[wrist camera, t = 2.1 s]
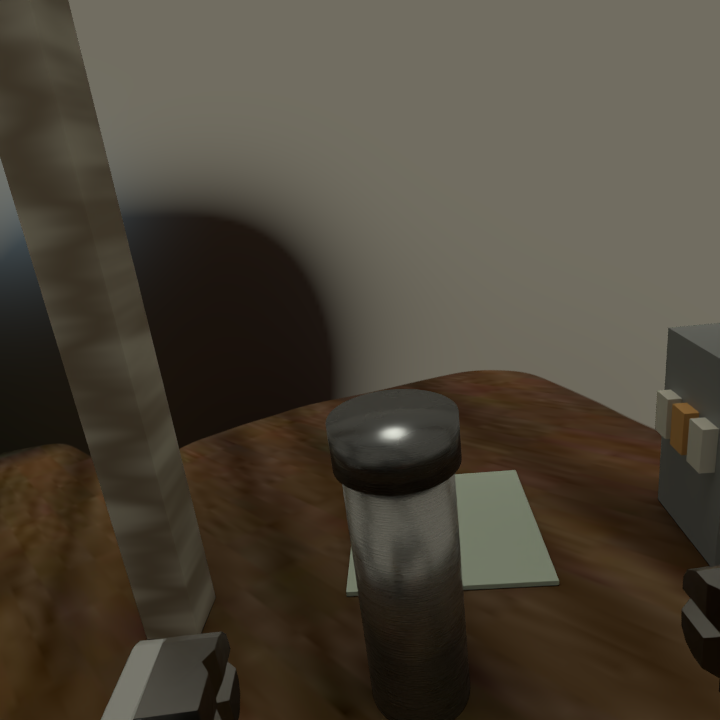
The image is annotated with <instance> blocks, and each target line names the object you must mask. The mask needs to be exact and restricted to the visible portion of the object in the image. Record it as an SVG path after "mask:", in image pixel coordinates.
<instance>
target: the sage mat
mask: <svg viewBox="0 0 720 720" xmlns="http://www.w3.org/2000/svg"><path fill="white" fill-rule="evenodd" d="M455 481H456V495H457V509H458V523H459V537H460V552H461V566H462V580H463V590H474V589H493V588H511V587H530V586H548V585H559V579H558V577H557V574H556V572H555V569H554V567H553V564H552V562H551V559H550V556H549V554H548V551H547V549H546V546H545V544H544V541H543V539H542V536H541V534H540V531H539V529H538V526H537V524H536V521H535V519H534V516H533V513H532V511H531V508H530V506H529V503H528V501H527V498H526V496H525V493H524V491H523V488H522V486H521V483H520V481H519V478H518V475H517V473H516V470H510V471H497V472H483V473H469V474H455ZM346 594H347V596H358V589H357V582H356V575H355V568H354V561H353V554H352V548H351V553H350V562H349V571H348V580H347V589H346Z"/></svg>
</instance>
